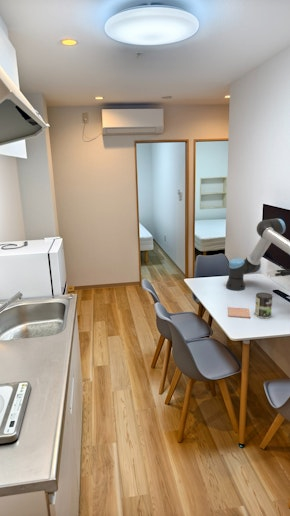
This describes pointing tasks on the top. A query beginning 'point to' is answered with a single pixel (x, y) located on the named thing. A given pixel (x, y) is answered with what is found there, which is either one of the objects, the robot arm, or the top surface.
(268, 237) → the robot arm
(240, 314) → the terracotta tile
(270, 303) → the coffee can
